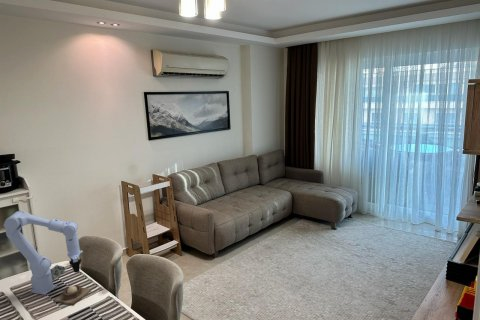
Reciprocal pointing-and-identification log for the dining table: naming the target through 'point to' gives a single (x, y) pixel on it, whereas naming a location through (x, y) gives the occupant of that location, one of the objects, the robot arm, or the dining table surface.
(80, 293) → the egg stand
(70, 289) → the egg
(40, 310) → the dining table surface
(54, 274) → the egg carton
